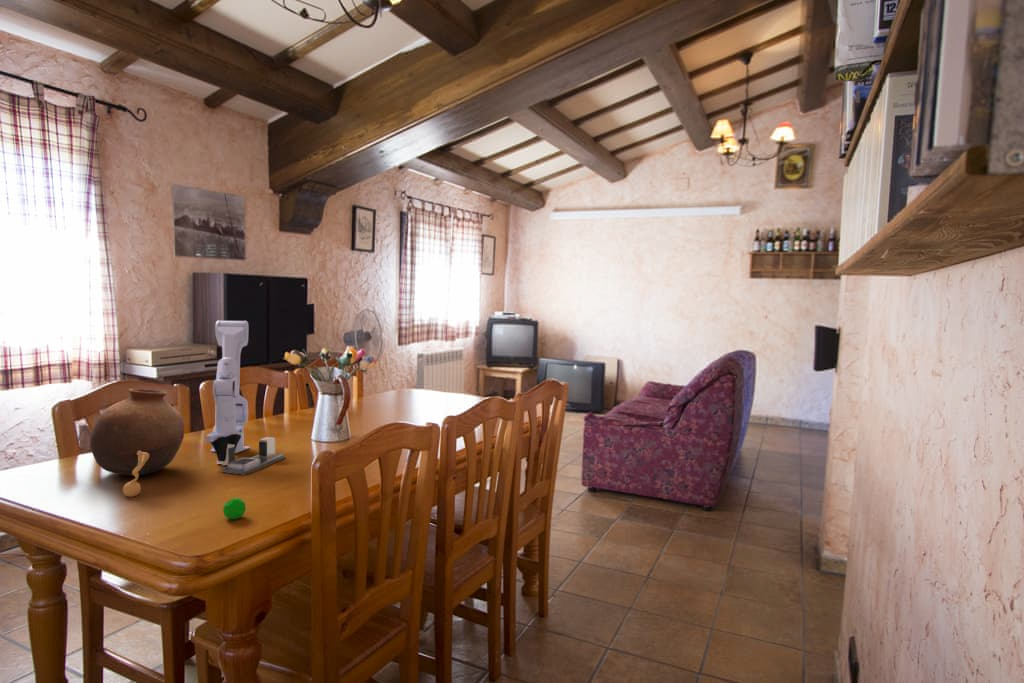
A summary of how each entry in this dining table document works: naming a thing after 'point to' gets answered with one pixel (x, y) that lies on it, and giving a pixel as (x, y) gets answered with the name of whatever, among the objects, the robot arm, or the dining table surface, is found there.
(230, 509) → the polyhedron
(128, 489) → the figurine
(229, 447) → the block
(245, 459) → the grey divided tray
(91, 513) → the dining table surface
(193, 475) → the dining table surface
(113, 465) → the pottery
